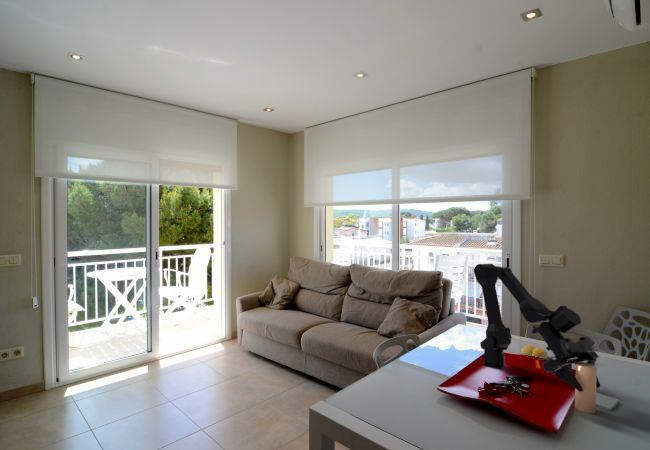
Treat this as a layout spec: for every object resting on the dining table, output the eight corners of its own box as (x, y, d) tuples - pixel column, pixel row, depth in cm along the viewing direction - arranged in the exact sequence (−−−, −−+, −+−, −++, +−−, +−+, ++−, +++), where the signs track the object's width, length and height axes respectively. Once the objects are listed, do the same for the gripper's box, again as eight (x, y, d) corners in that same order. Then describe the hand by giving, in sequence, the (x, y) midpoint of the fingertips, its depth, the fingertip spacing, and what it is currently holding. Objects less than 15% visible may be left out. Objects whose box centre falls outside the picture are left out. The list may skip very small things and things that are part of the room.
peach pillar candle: (574, 409, 105) (575, 366, 105) (574, 402, 109) (576, 361, 109) (595, 415, 102) (597, 370, 102) (595, 408, 106) (596, 365, 106)
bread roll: (543, 362, 142) (543, 352, 142) (519, 355, 149) (520, 345, 149) (550, 357, 147) (550, 347, 147) (527, 350, 154) (527, 341, 154)
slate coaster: (574, 398, 112) (574, 396, 112) (584, 390, 117) (584, 388, 117) (609, 411, 105) (609, 408, 104) (618, 402, 110) (618, 399, 110)
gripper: (553, 330, 106) (591, 383, 95) (593, 324, 113) (632, 373, 102) (528, 347, 113) (561, 398, 103) (567, 341, 120) (602, 388, 110)
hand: (590, 389), depth 104 cm, fingers open, 8 cm apart
